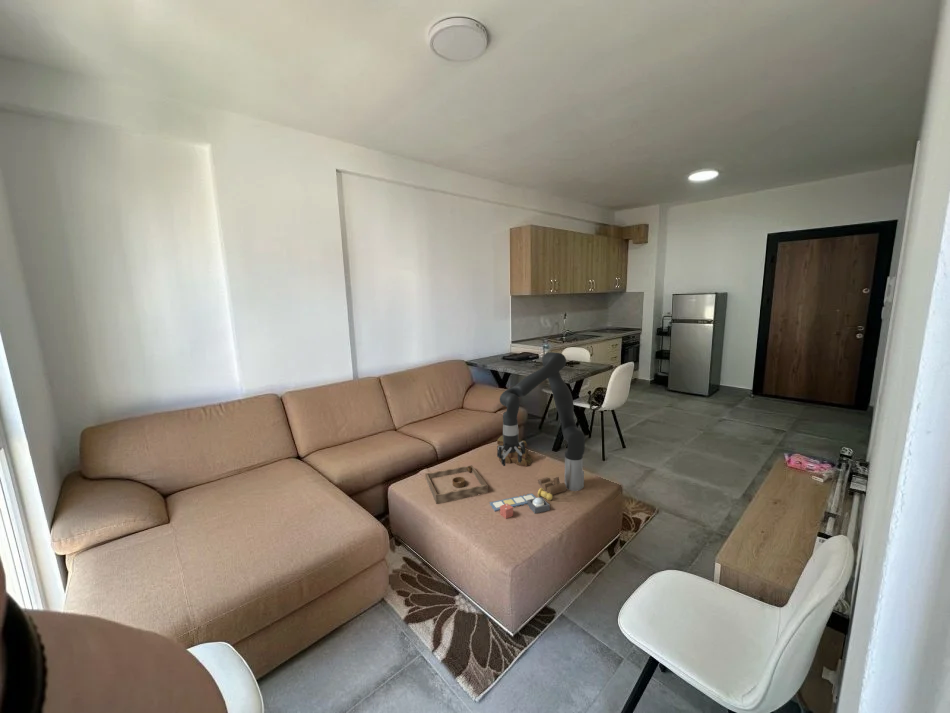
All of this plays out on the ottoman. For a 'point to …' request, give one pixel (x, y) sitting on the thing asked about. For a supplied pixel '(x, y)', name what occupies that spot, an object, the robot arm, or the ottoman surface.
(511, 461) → the wooden toy train
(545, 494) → the pawn
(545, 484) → the wooden block set
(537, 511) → the base
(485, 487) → the serving frame
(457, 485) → the place setting
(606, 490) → the ottoman surface
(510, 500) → the board
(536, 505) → the dome
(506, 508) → the die
